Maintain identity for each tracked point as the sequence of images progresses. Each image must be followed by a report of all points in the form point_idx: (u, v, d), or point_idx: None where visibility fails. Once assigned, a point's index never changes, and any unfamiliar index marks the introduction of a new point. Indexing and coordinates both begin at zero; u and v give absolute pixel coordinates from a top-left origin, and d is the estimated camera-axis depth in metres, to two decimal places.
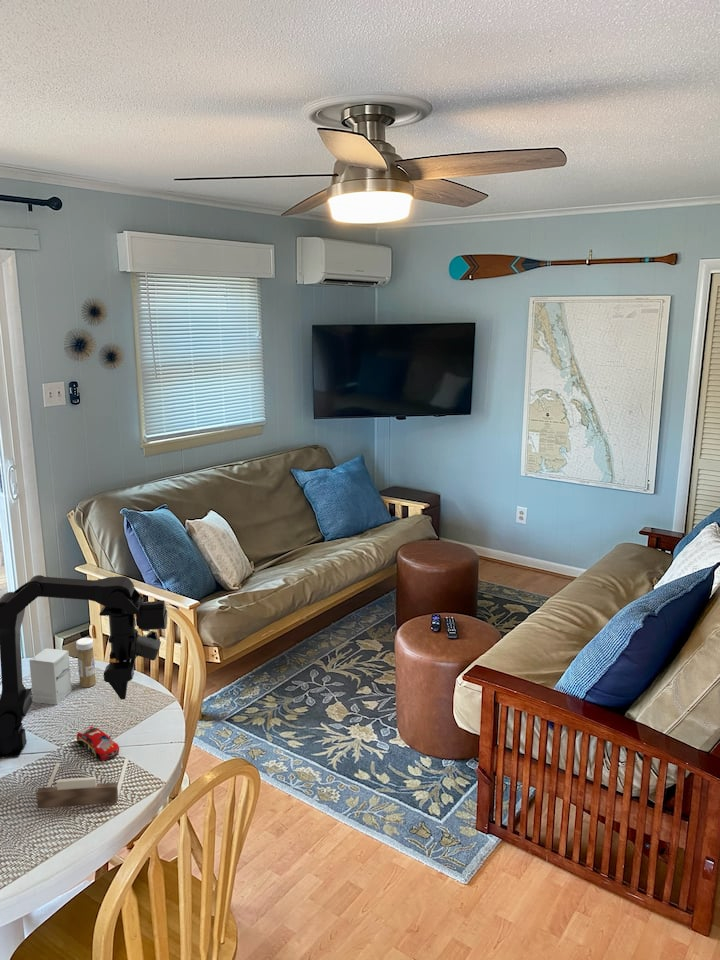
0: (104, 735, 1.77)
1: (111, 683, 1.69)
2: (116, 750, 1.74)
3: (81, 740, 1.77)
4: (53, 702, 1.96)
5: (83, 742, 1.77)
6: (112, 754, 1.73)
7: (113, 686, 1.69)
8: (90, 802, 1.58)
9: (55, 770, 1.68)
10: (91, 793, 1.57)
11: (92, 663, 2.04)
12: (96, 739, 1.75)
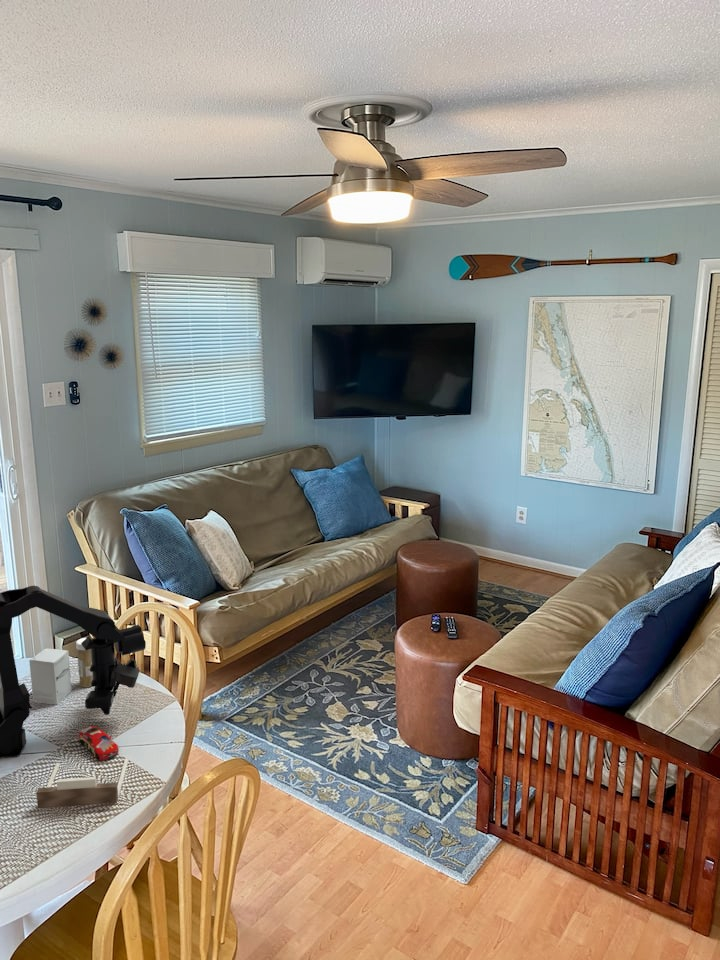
0: (104, 735, 1.77)
1: None
2: (115, 751, 1.74)
3: (82, 739, 1.78)
4: (53, 702, 1.96)
5: (84, 741, 1.77)
6: (111, 755, 1.73)
7: None
8: (90, 802, 1.58)
9: (55, 770, 1.68)
10: (91, 793, 1.57)
11: None
12: (96, 739, 1.75)
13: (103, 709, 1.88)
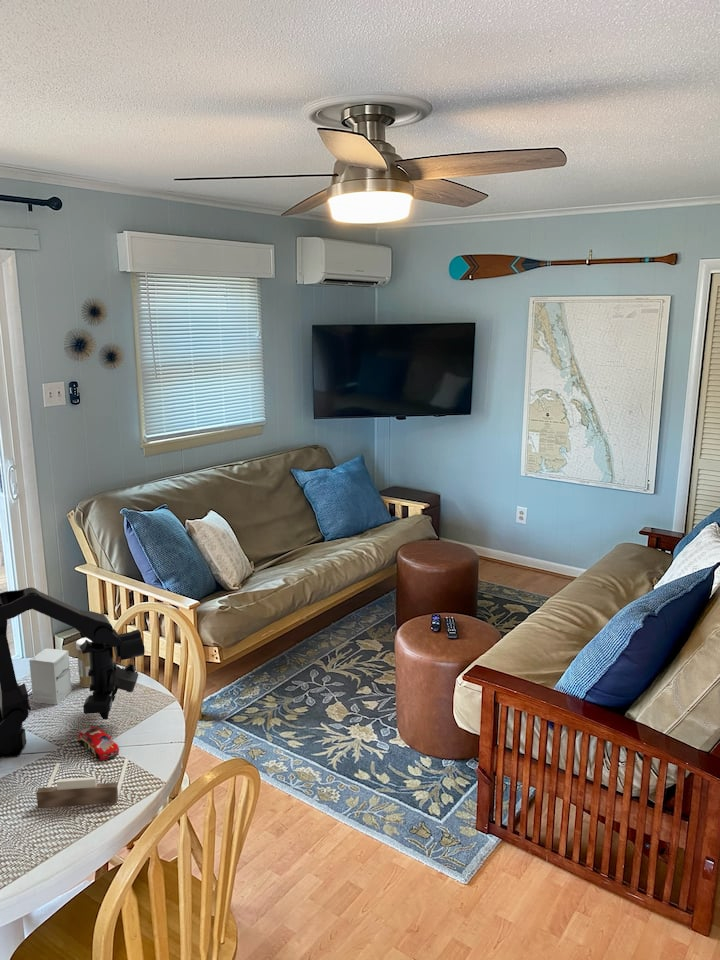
0: (104, 735, 1.77)
1: None
2: (115, 751, 1.74)
3: (82, 739, 1.77)
4: (53, 702, 1.96)
5: (84, 742, 1.77)
6: (111, 754, 1.73)
7: None
8: (90, 802, 1.58)
9: (55, 770, 1.68)
10: (91, 793, 1.57)
11: None
12: (96, 739, 1.75)
13: (101, 714, 1.86)
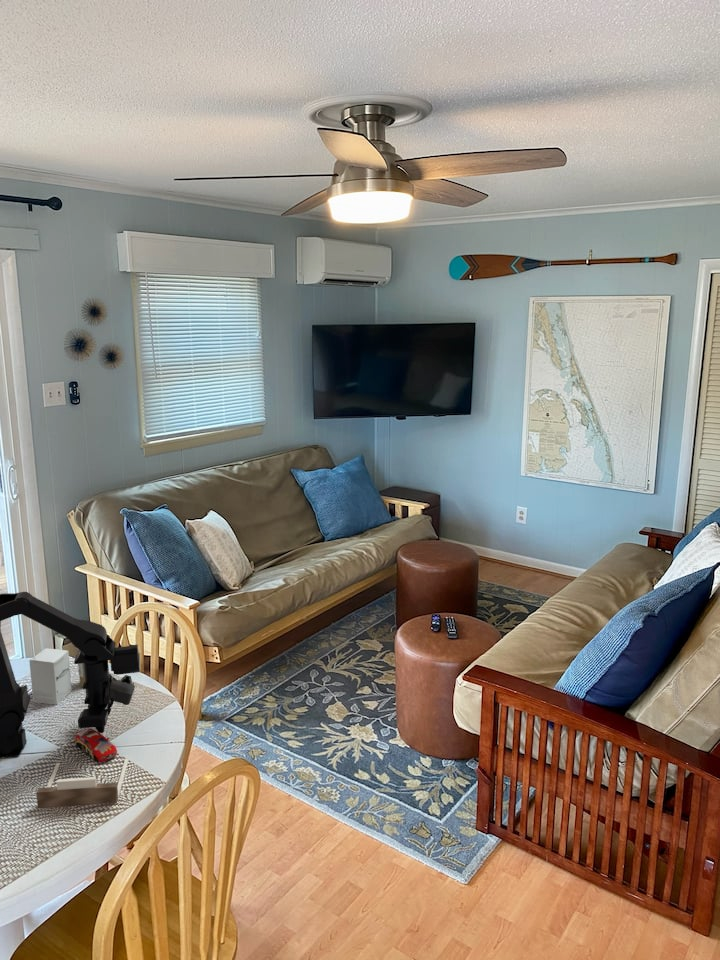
0: (102, 737, 1.76)
1: None
2: (114, 752, 1.74)
3: (79, 742, 1.76)
4: (53, 702, 1.96)
5: (81, 744, 1.76)
6: (109, 756, 1.72)
7: None
8: (90, 802, 1.58)
9: (55, 770, 1.68)
10: (91, 793, 1.57)
11: None
12: (94, 741, 1.75)
13: (97, 727, 1.80)
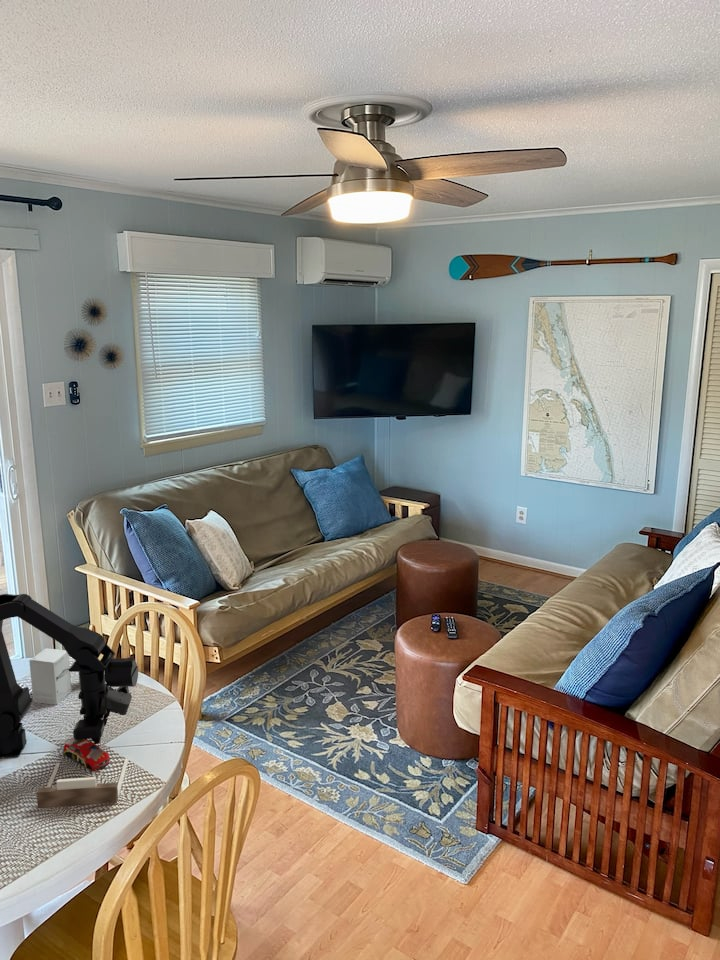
0: (93, 745, 1.73)
1: None
2: (107, 759, 1.71)
3: (69, 751, 1.73)
4: (53, 702, 1.96)
5: (71, 753, 1.73)
6: (103, 764, 1.70)
7: None
8: (90, 802, 1.58)
9: (55, 770, 1.68)
10: (91, 793, 1.57)
11: None
12: (85, 749, 1.72)
13: (93, 738, 1.75)
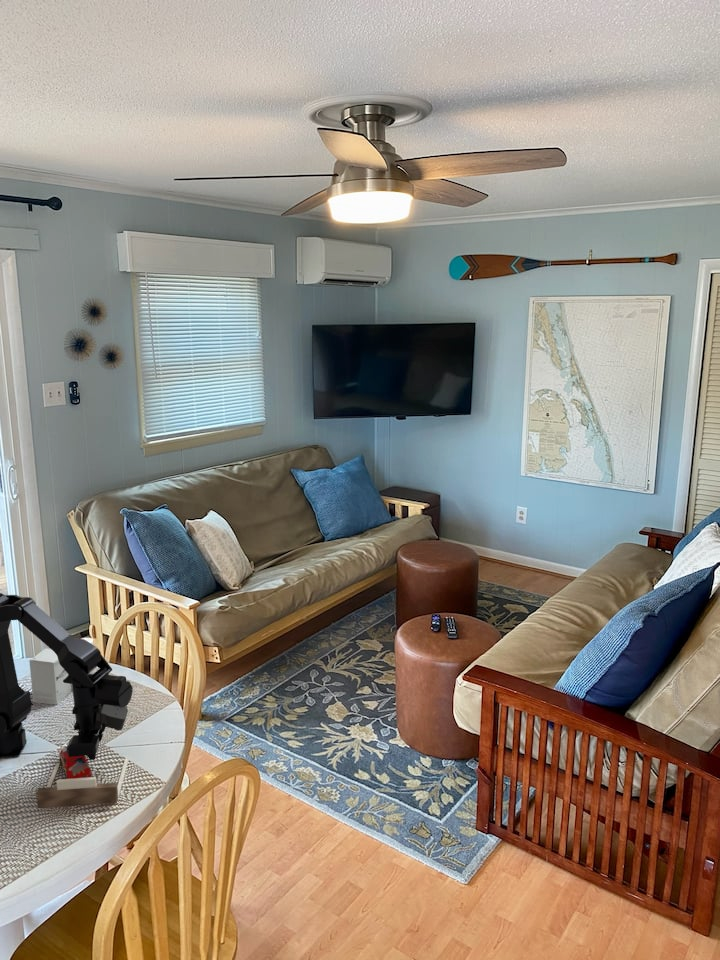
0: (81, 757, 1.68)
1: None
2: (86, 776, 1.64)
3: (60, 758, 1.70)
4: (53, 702, 1.96)
5: (61, 761, 1.69)
6: None
7: None
8: (90, 802, 1.58)
9: (55, 770, 1.68)
10: (91, 793, 1.57)
11: None
12: (71, 760, 1.67)
13: (88, 754, 1.69)
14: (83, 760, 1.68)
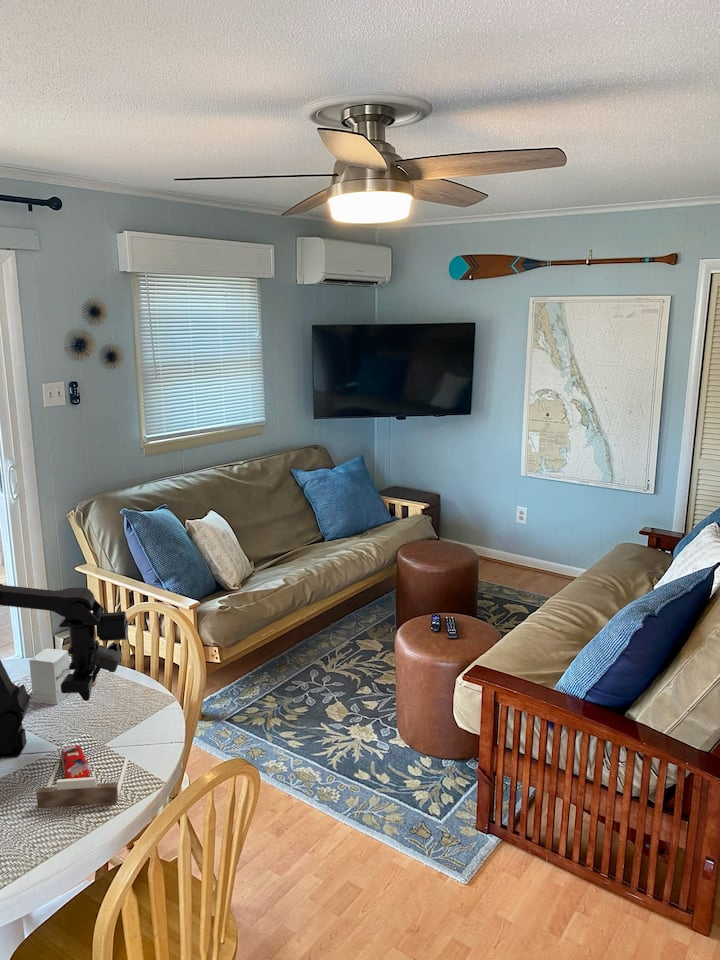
0: (80, 759, 1.68)
1: None
2: None
3: (61, 758, 1.70)
4: (53, 702, 1.96)
5: (61, 761, 1.69)
6: None
7: None
8: (90, 802, 1.58)
9: (55, 770, 1.68)
10: (91, 793, 1.57)
11: None
12: (70, 761, 1.67)
13: (82, 694, 1.75)
14: (82, 761, 1.68)
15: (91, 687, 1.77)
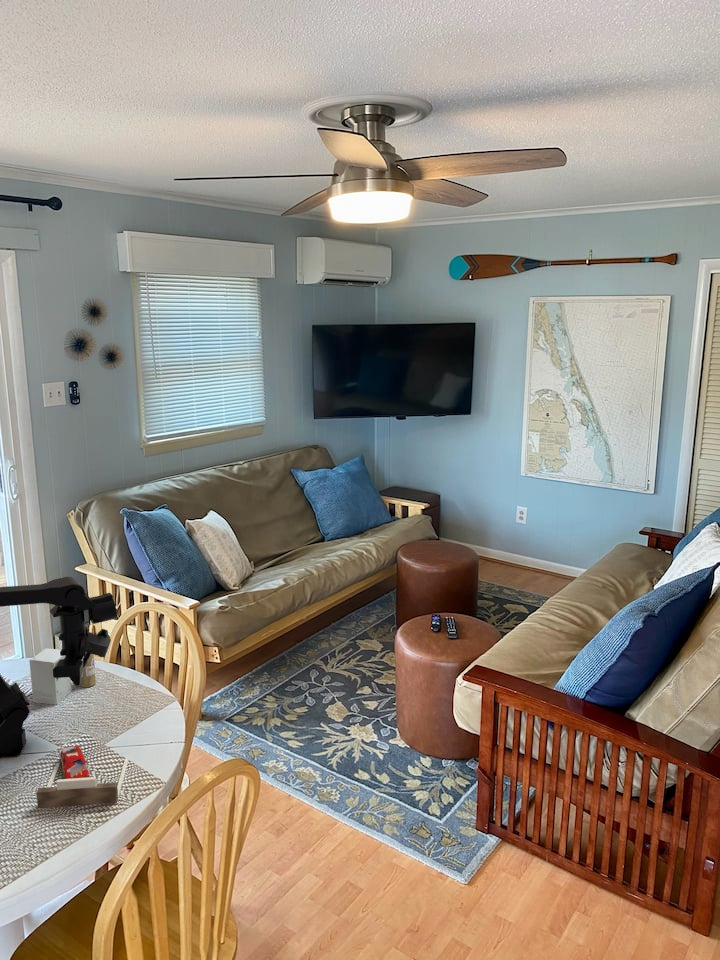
0: (79, 759, 1.68)
1: None
2: None
3: (60, 759, 1.70)
4: (53, 702, 1.96)
5: (61, 762, 1.69)
6: None
7: None
8: (90, 802, 1.58)
9: (55, 770, 1.68)
10: (91, 793, 1.57)
11: (92, 663, 2.04)
12: (69, 762, 1.67)
13: (73, 680, 1.81)
14: (82, 762, 1.67)
15: None
